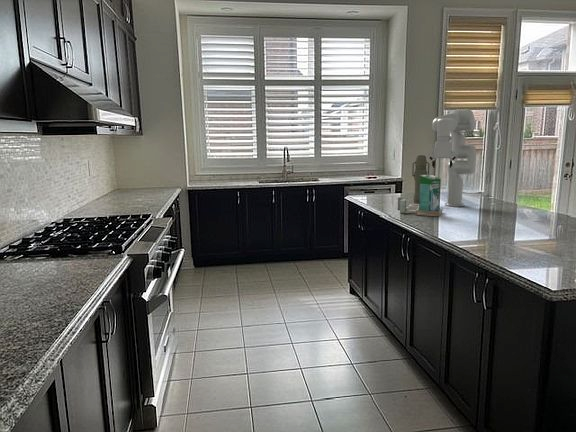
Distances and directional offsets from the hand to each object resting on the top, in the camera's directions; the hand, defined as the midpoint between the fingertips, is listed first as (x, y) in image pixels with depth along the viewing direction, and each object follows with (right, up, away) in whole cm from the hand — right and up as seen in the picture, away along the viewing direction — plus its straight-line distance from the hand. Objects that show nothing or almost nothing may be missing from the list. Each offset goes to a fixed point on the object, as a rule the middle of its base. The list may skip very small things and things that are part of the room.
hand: (442, 167), depth 271 cm
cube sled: (-13, -25, +28) cm, 40 cm away
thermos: (+2, -21, +51) cm, 55 cm away
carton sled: (-9, -28, +14) cm, 33 cm away
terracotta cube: (-9, -26, +27) cm, 38 cm away
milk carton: (-4, -29, +11) cm, 31 cm away
